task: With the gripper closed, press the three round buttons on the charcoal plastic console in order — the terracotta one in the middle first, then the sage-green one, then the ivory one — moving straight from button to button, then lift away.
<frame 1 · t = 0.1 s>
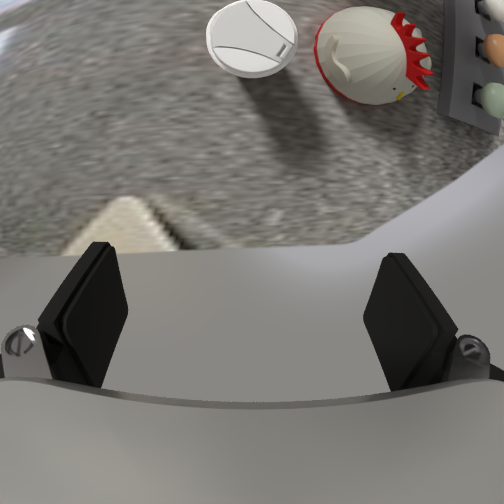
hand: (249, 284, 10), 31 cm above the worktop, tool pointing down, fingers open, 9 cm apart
console: (471, 49, 28), on the worktop
button sage: (489, 98, 27), point 5 cm above the worktop, slide at 0.0 cm
button ivory: (491, 7, 19), point 5 cm above the worktop, slide at 0.0 cm
button terracotta: (492, 50, 23), point 5 cm above the worktop, slide at 0.0 cm
white rounded crested piece: (363, 55, 31), on the worktop
paper cup: (249, 53, 31), on the worktop
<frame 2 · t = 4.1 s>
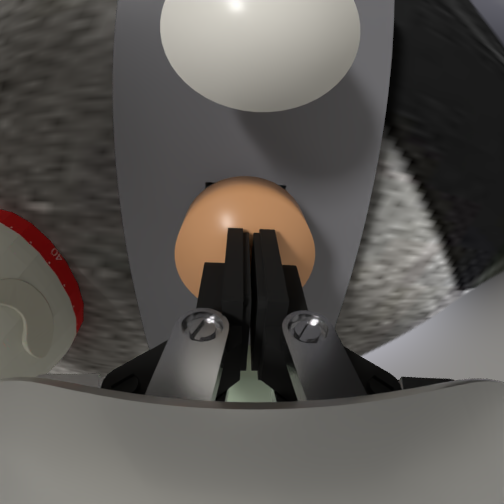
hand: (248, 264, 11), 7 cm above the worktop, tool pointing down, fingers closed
console: (243, 196, 17), on the worktop
button sage: (238, 367, 16), point 5 cm above the worktop, slide at 0.0 cm
button ivory: (257, 34, 8), point 5 cm above the worktop, slide at 0.0 cm
button terracotta: (244, 229, 13), point 4 cm above the worktop, slide at 1.3 cm, touching gripper
white rounded crested piece: (19, 281, 20), on the worktop
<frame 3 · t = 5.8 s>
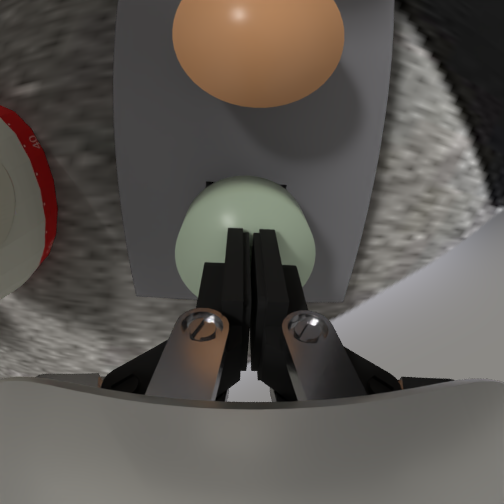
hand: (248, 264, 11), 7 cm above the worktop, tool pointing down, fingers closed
console: (252, 51, 12), on the worktop
button sage: (244, 229, 13), point 4 cm above the worktop, slide at 1.3 cm, touching gripper
button terracotta: (256, 40, 9), point 4 cm above the worktop, slide at 1.4 cm
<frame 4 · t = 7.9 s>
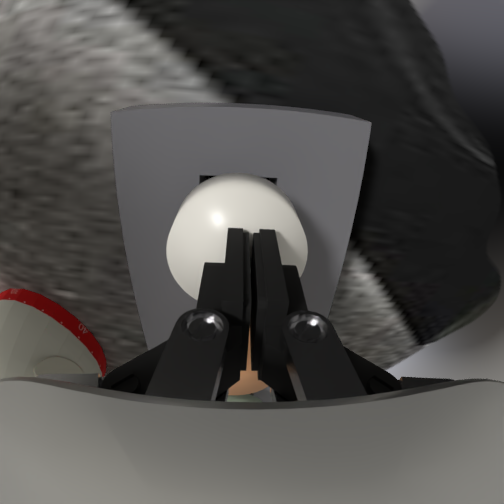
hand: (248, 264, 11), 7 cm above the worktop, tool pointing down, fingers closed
console: (233, 298, 21), on the worktop
button sage: (231, 402, 22), point 4 cm above the worktop, slide at 1.4 cm
button ivory: (236, 226, 13), point 5 cm above the worktop, slide at 0.7 cm, touching gripper
button terracotta: (233, 339, 18), point 4 cm above the worktop, slide at 1.4 cm
white rounded crested piece: (47, 340, 24), on the worktop
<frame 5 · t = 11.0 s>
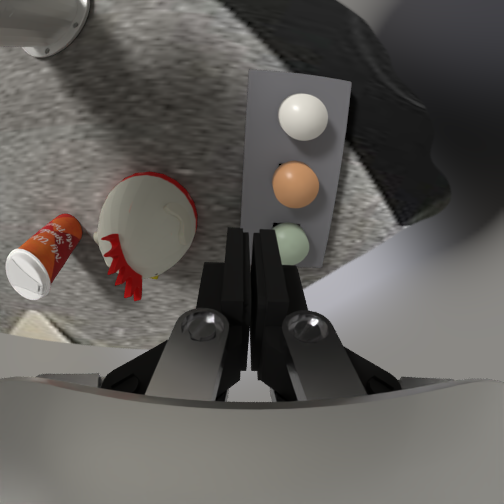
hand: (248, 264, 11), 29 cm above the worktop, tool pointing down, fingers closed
console: (288, 171, 39), on the worktop
button sage: (286, 238, 39), point 4 cm above the worktop, slide at 1.4 cm
button ivory: (300, 115, 31), point 4 cm above the worktop, slide at 1.4 cm
button terracotta: (293, 180, 35), point 4 cm above the worktop, slide at 1.4 cm
white rounded crested piece: (151, 217, 42), on the worktop
paper cup: (68, 228, 42), on the worktop
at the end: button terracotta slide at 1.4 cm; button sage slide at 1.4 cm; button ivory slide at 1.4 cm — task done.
